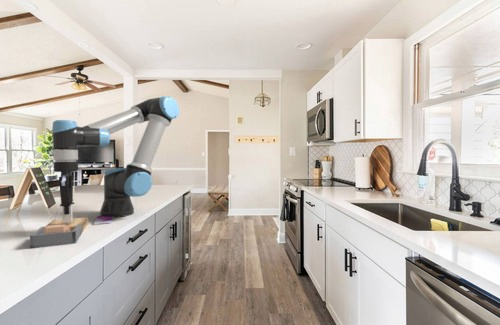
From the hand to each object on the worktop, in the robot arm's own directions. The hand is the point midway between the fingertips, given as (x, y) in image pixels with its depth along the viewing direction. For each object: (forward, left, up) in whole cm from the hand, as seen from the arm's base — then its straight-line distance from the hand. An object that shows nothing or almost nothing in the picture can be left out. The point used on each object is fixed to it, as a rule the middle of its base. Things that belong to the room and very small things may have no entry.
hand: (67, 221), depth 95 cm
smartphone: (-11, -15, -5) cm, 19 cm away
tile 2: (+1, +9, -3) cm, 10 cm away
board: (+1, -3, -4) cm, 5 cm away
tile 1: (+1, +12, -1) cm, 12 cm away
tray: (+1, +10, -4) cm, 11 cm away
